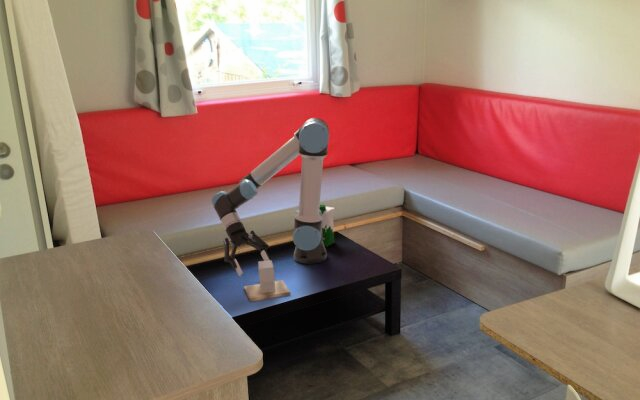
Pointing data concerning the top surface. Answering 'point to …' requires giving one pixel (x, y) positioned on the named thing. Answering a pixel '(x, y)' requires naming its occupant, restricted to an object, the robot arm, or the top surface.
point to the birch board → (255, 293)
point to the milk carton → (327, 225)
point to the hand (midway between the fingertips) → (255, 269)
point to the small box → (266, 276)
